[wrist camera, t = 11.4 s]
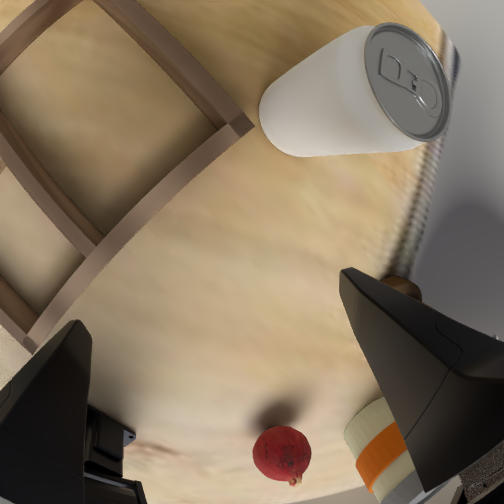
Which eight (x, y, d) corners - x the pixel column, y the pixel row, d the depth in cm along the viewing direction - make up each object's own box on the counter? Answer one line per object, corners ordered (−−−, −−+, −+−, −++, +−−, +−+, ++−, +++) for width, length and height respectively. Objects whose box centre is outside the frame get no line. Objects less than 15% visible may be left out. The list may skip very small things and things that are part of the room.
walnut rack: (44, 335, 19) (32, 354, 16) (-76, 178, 11) (-95, 181, 9) (242, 133, 20) (255, 126, 17) (94, -19, 12) (89, -38, 10)
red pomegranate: (242, 418, 26) (268, 478, 19) (295, 405, 28) (331, 458, 20) (244, 450, 28) (267, 504, 20) (292, 437, 29) (322, 486, 22)
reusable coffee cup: (323, 424, 30) (390, 512, 16) (404, 369, 32) (483, 432, 18) (339, 461, 34) (389, 528, 20) (405, 416, 36) (463, 470, 22)
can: (323, 168, 22) (449, 174, 11) (246, 142, 20) (343, 110, 9) (340, 97, 21) (458, 64, 10) (268, 65, 19) (364, -11, 8)
